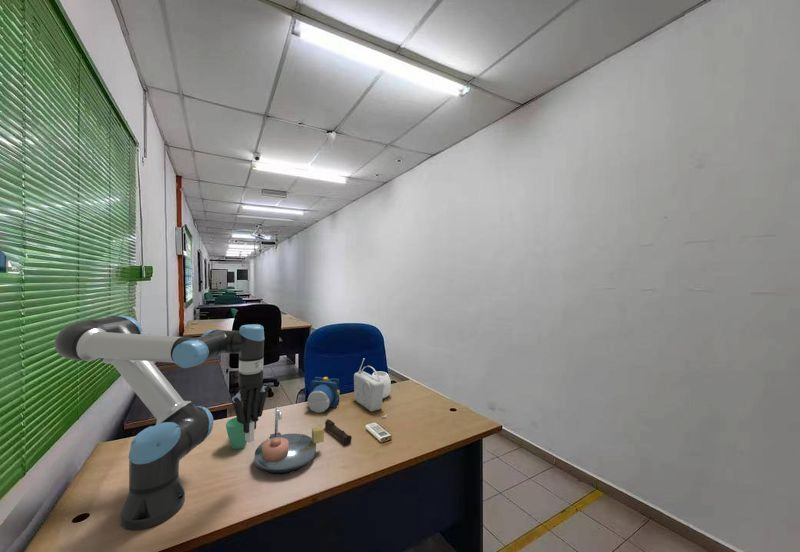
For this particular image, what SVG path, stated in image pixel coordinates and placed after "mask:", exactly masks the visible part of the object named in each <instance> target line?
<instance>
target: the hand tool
mask: <svg viewBox="0 0 800 552" xmlns="http://www.w3.org/2000/svg"><path fill="white" fill-rule="evenodd" d="M324 426H325V429H326V431H327V432H328V433H329V434H332V435H333V436H334V437H335V438H337V439H338V440H339V441H340V442H342V443H343V444H342V445H343V446H344V447H346V446H348V445H350V444H351V443H352V438H353V437H352V436H351V435H350V434H348V433H346V432H345V431H344V430H342V429H340V428H339V427H338V426H337V425H335V422H333V420H331V419H326V420H325V422H324Z"/></svg>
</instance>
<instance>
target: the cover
mask: <svg viewBox="0 0 800 552" xmlns="http://www.w3.org/2000/svg"><path fill="white" fill-rule="evenodd" d="M269 439H270V438H269ZM266 440H267V439H266ZM266 440H265V441H266ZM263 442H264V441H263ZM288 444H289V442H288V440H287V439H285V438H278V437H276V438H273V439H270V440H267V441H266V442H264V444H263V445H262V459H263V460H264V461H266V462H277V461H280V460H282V459H284V458H285V457H286V456H287V455H288Z"/></svg>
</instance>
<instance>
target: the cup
mask: <svg viewBox="0 0 800 552" xmlns="http://www.w3.org/2000/svg"><path fill="white" fill-rule="evenodd" d="M376 372H377V374H378V376H379V378H380V380H381V381H383V383H384V390H383V398H382V400H384V399H386V398H388V396H389V395H390V393H391V390H392V383H391V382H392V381H391V377H390V376H389V374H388V373H387V372H385V371H382V370H381V371H376ZM371 375H372V376H374V377H375V378H377V379H378V377H377V375H376V373H375V371H373V373H372V374H371Z"/></svg>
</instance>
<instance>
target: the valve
mask: <svg viewBox="0 0 800 552" xmlns="http://www.w3.org/2000/svg"><path fill="white" fill-rule="evenodd" d="M339 386H340V379H339V378H329V377H328V376H324V377H321V376H315V377H314V380H311V381H310V390H311V391H310V394H309V395H308V397H307V405H308V407H309V409H310V410H311V411H312V412H314V413H317V414H318V413H324V412H325V411H326V410H328V408H337V404H339V403H340V393H341V391H340V389H339Z"/></svg>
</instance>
